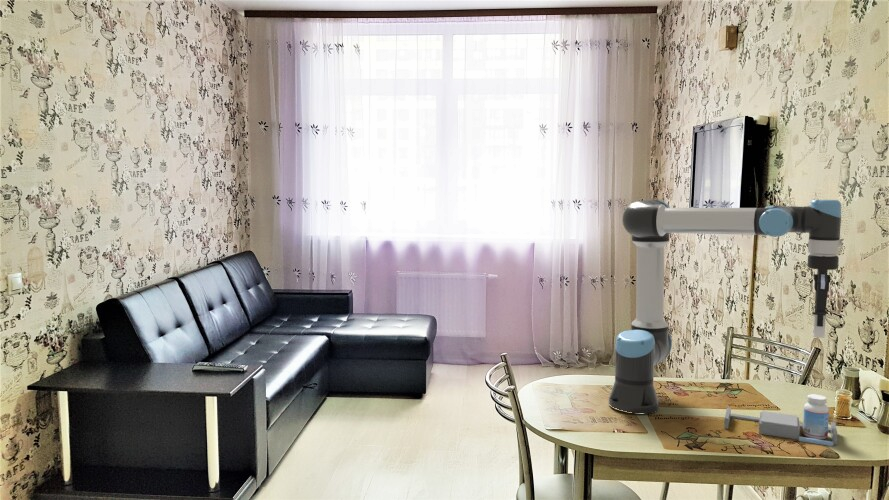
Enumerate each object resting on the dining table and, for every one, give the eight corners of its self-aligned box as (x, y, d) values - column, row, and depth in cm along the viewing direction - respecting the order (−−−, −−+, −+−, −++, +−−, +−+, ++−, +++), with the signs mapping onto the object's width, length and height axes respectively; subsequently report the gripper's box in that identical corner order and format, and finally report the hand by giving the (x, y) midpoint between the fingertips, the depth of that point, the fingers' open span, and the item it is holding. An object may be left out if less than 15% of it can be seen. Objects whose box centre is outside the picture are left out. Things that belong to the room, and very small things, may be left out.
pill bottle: (830, 440, 180) (833, 401, 178) (806, 439, 181) (808, 399, 180) (822, 432, 186) (825, 393, 184) (799, 430, 187) (801, 392, 186)
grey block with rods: (723, 429, 188) (724, 417, 188) (727, 414, 200) (727, 403, 199) (837, 446, 176) (838, 433, 175) (834, 430, 187) (834, 418, 187)
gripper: (840, 257, 177) (835, 343, 180) (837, 252, 189) (832, 333, 191) (808, 256, 181) (804, 340, 183) (807, 251, 192) (803, 330, 195)
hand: (818, 336), depth 187 cm, fingers closed
